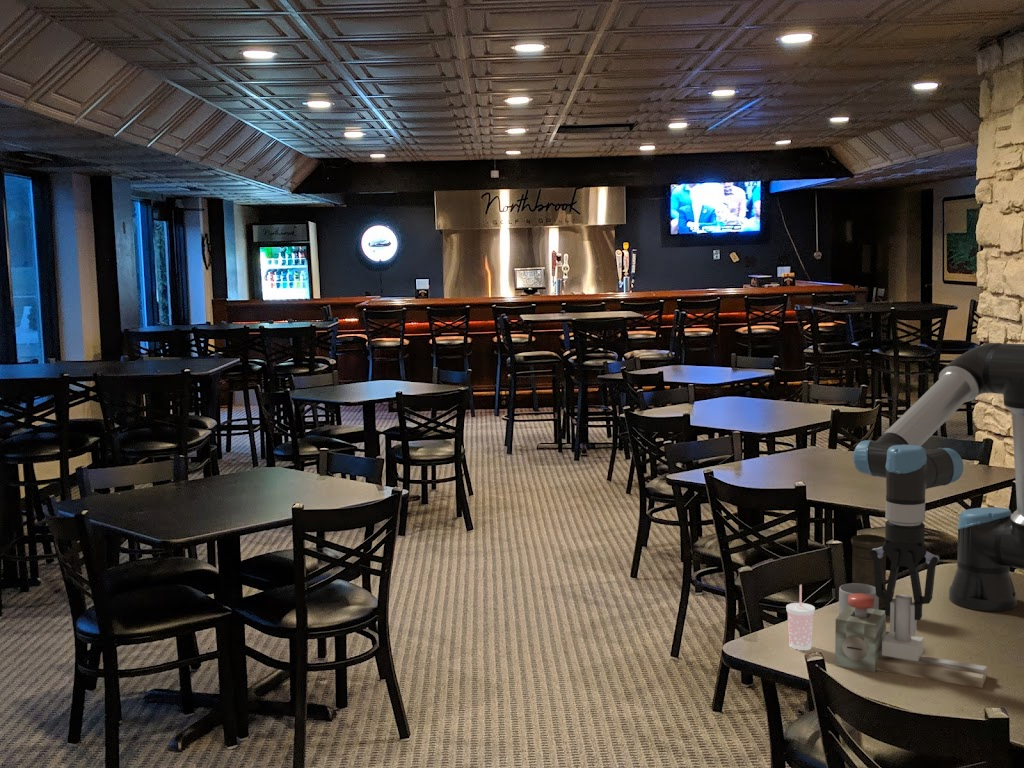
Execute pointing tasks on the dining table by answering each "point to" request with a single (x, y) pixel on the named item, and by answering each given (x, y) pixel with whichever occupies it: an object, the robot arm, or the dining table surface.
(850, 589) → the mug
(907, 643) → the carriage
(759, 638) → the dining table surface
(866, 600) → the button
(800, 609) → the beverage cup
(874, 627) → the rail rig
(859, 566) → the container
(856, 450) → the robot arm
